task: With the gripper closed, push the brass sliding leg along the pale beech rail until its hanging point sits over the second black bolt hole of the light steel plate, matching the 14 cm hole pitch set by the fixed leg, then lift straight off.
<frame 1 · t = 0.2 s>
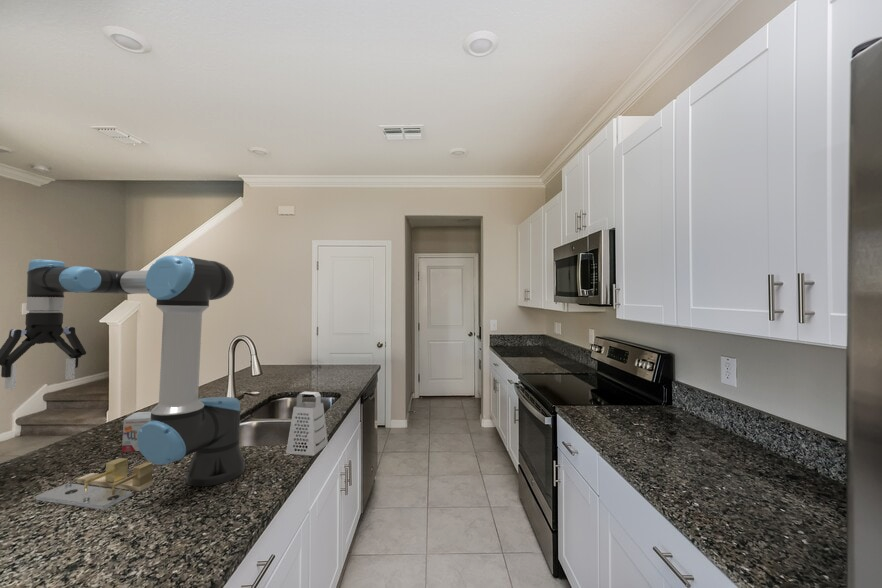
hand: (41, 383, 106), 28 cm above the worktop, fingers open, 13 cm apart
grater: (307, 449, 130), on the worktop
rail: (114, 483, 103), on the worktop
ink box: (142, 448, 129), on the worktop
bolt plate: (84, 497, 96), on the worktop
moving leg: (105, 474, 100), point 4 cm above the worktop, slide at 5.0 cm
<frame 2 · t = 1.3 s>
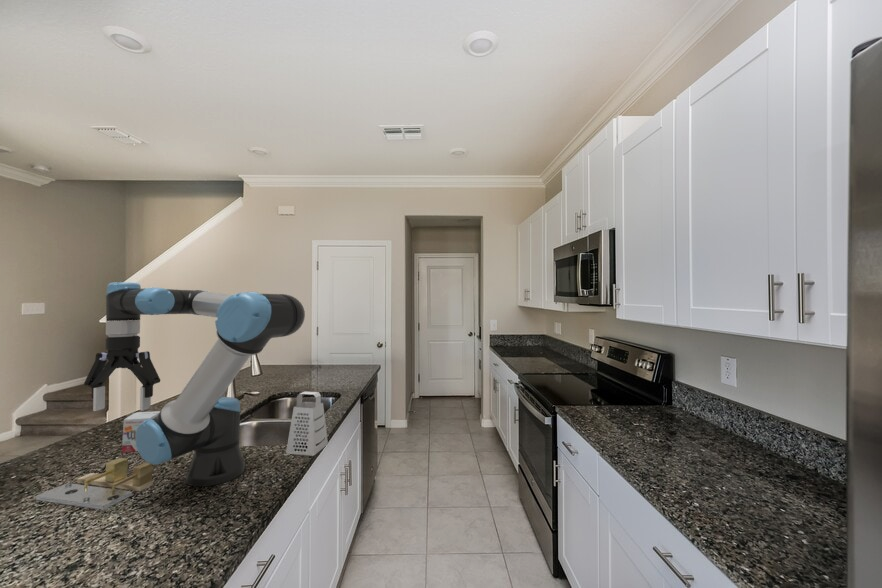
hand: (122, 409, 103), 21 cm above the worktop, fingers open, 13 cm apart
nothing on the worktop moved.
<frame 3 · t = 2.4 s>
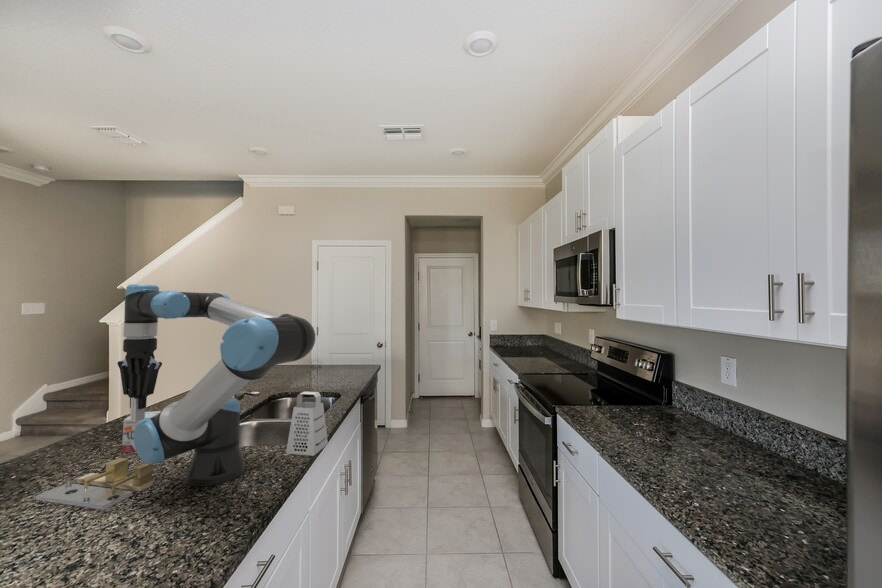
hand: (137, 419, 103), 18 cm above the worktop, fingers closed
nothing on the worktop moved.
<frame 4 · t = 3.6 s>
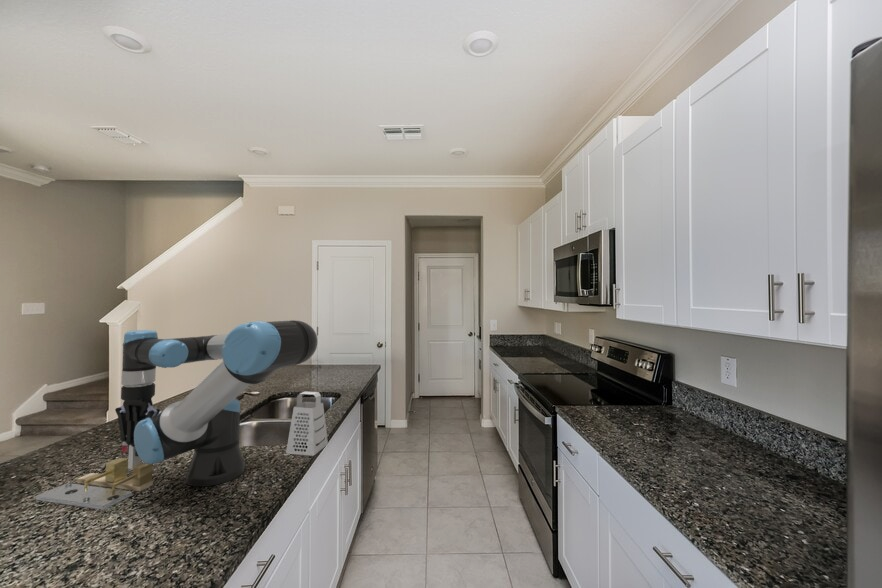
hand: (135, 466, 103), 5 cm above the worktop, fingers closed
nothing on the worktop moved.
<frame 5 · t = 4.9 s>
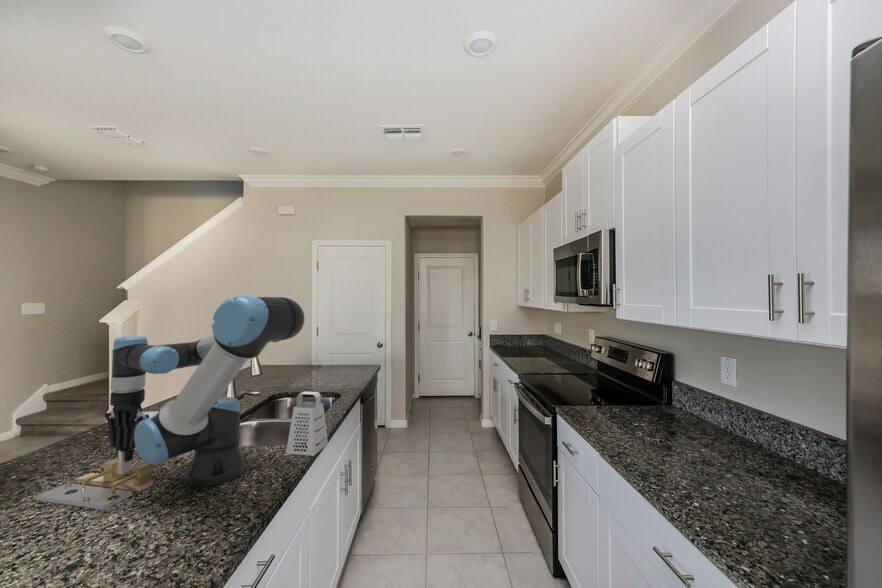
hand: (124, 471, 103), 3 cm above the worktop, fingers closed
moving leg: (102, 474, 100), point 4 cm above the worktop, slide at 5.8 cm, touching gripper
everything else where it was.
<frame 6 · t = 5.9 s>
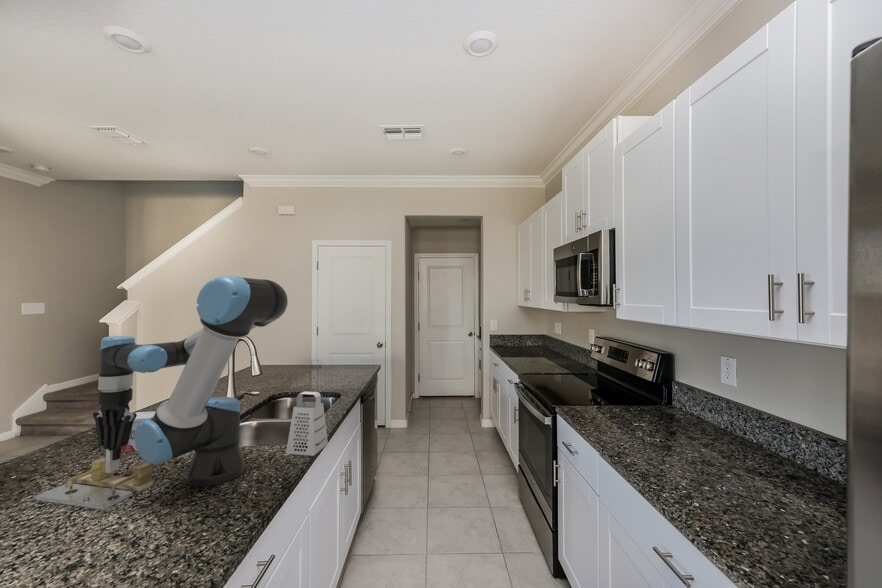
hand: (112, 470, 104), 3 cm above the worktop, fingers closed
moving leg: (90, 472, 101), point 4 cm above the worktop, slide at 10.0 cm, touching gripper
everything else where it was.
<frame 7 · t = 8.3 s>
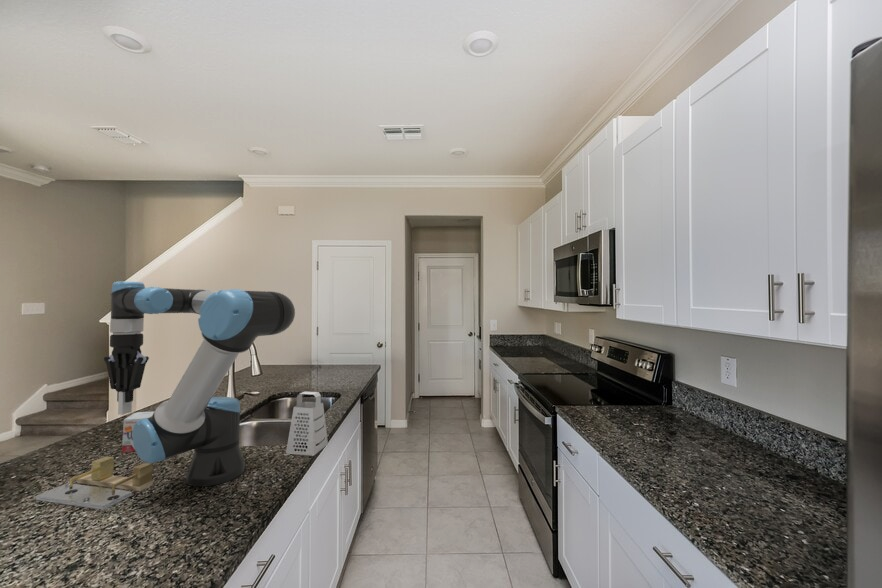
hand: (124, 413, 106), 19 cm above the worktop, fingers closed
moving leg: (90, 472, 101), point 4 cm above the worktop, slide at 10.0 cm
everything else where it was.
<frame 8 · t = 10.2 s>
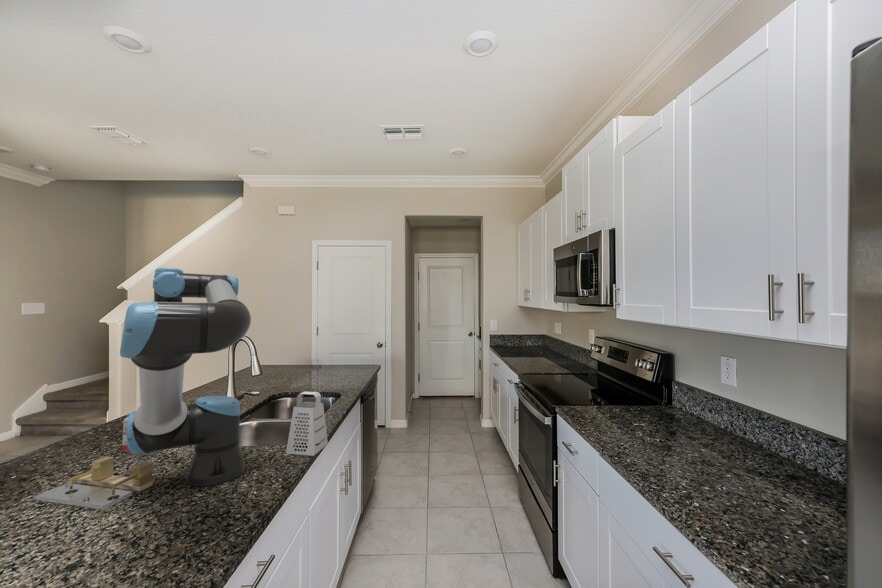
hand: (165, 388, 116), 24 cm above the worktop, fingers closed
nothing on the worktop moved.
at the end: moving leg slide at 10.0 cm; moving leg touching nothing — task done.
